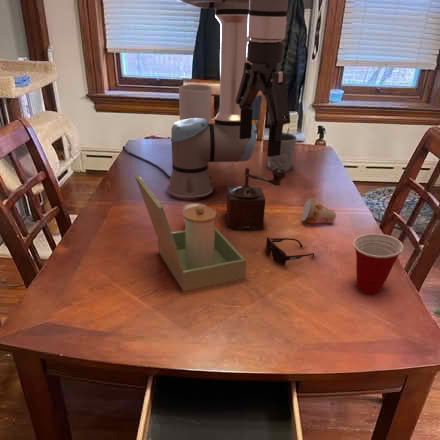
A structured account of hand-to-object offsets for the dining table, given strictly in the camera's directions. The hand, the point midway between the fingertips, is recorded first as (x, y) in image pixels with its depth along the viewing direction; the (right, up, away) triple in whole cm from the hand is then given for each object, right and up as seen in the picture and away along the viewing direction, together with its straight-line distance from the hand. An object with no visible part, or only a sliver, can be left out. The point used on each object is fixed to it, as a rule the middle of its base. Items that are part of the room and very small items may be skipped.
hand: (258, 146), depth 105 cm
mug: (+21, -12, +35) cm, 42 cm away
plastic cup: (+26, -32, +6) cm, 42 cm away
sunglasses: (+9, -24, +17) cm, 31 cm away
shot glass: (-16, -15, +28) cm, 36 cm away
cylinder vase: (-19, +25, +87) cm, 92 cm away
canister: (-14, -26, +11) cm, 31 cm away
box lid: (-22, -17, 0) cm, 28 cm away
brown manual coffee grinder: (+1, -12, +33) cm, 35 cm away
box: (-14, -27, +11) cm, 32 cm away
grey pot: (+14, +15, +74) cm, 77 cm away
